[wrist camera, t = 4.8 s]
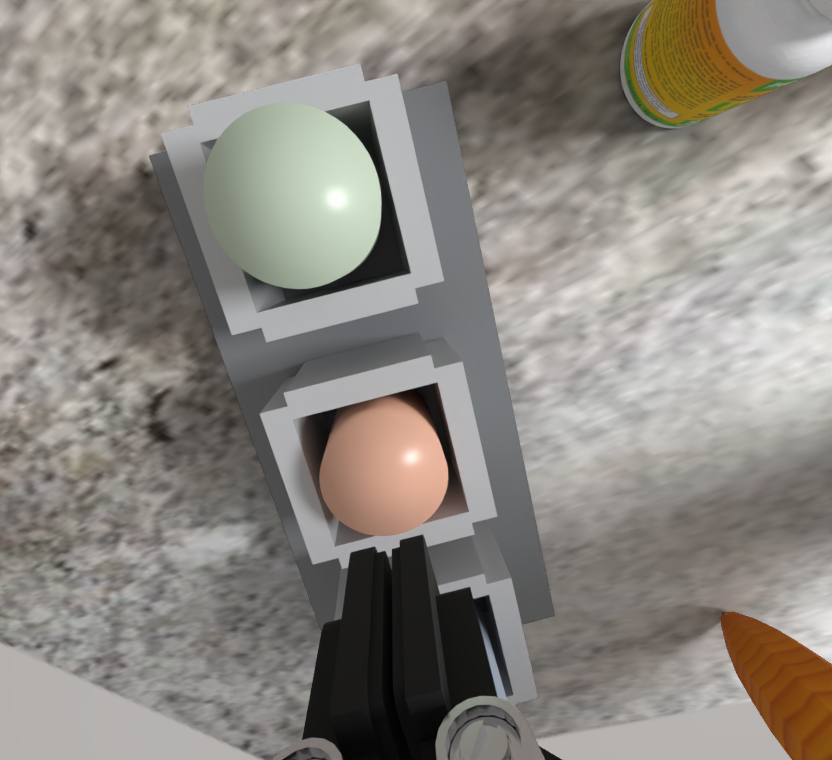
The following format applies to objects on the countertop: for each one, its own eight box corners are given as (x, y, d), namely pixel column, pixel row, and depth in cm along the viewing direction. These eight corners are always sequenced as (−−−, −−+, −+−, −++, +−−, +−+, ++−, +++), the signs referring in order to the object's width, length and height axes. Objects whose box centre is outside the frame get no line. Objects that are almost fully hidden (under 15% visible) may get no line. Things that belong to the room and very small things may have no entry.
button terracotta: (419, 369, 21) (432, 403, 16) (442, 460, 22) (460, 518, 17) (320, 394, 21) (302, 436, 16) (348, 484, 22) (340, 549, 17)
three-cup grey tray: (440, 97, 21) (469, 19, 14) (542, 590, 27) (595, 699, 21) (170, 165, 21) (67, 119, 14) (339, 643, 27) (326, 771, 21)
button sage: (362, 134, 16) (354, 82, 11) (394, 263, 17) (400, 265, 13) (236, 166, 16) (176, 127, 11) (277, 293, 17) (237, 307, 13)
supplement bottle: (660, 157, 22) (869, 83, 13) (592, 57, 21) (766, -109, 11) (756, 70, 21) (1052, -76, 12) (692, -39, 20) (964, -297, 11)
